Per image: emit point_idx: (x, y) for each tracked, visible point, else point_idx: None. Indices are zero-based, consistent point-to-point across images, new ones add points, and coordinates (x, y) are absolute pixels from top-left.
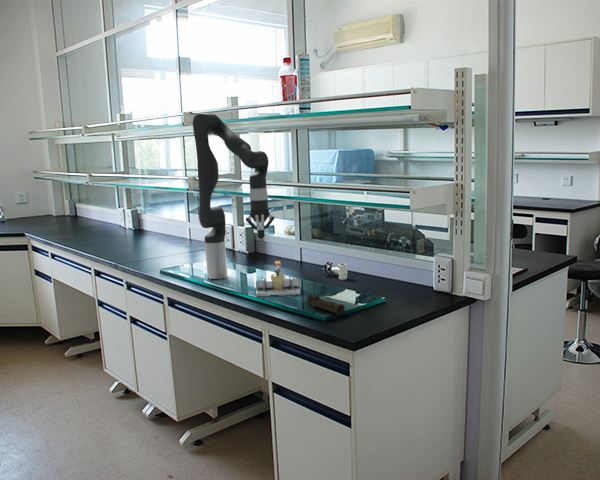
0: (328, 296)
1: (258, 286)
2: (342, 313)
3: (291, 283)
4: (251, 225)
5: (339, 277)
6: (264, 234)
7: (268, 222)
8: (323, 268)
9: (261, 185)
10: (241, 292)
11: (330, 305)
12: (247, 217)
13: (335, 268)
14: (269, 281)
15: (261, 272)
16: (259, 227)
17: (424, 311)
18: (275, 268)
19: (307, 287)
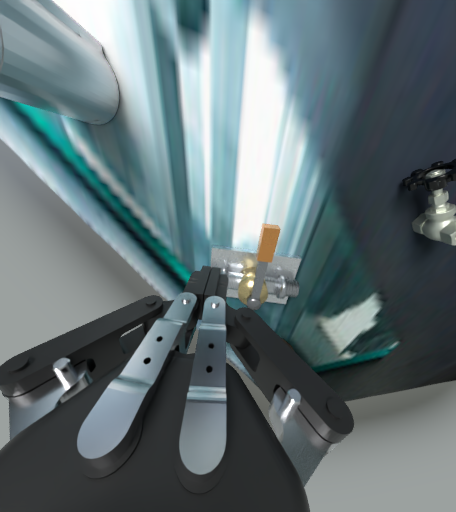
0: (322, 320)
1: None
2: None
3: (276, 296)
4: (125, 346)
5: (416, 225)
6: (227, 284)
7: (257, 382)
8: (414, 186)
9: None
10: (182, 259)
11: None
12: (17, 411)
13: (438, 214)
14: (234, 289)
15: (229, 46)
16: (189, 337)
17: (396, 388)
18: (250, 300)
19: (311, 266)
